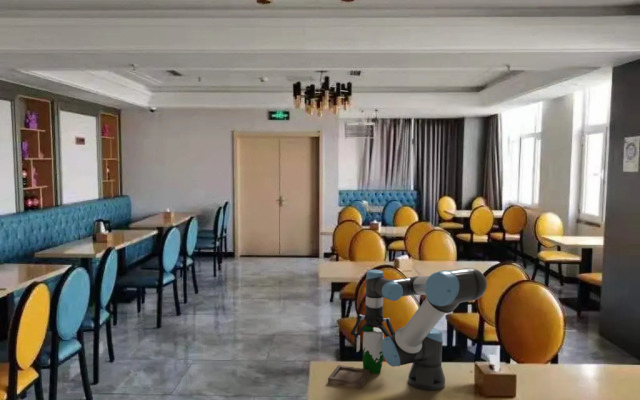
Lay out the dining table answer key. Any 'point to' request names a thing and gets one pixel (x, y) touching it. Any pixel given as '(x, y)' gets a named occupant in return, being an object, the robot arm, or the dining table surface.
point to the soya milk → (372, 349)
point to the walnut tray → (348, 377)
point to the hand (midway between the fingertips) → (373, 353)
